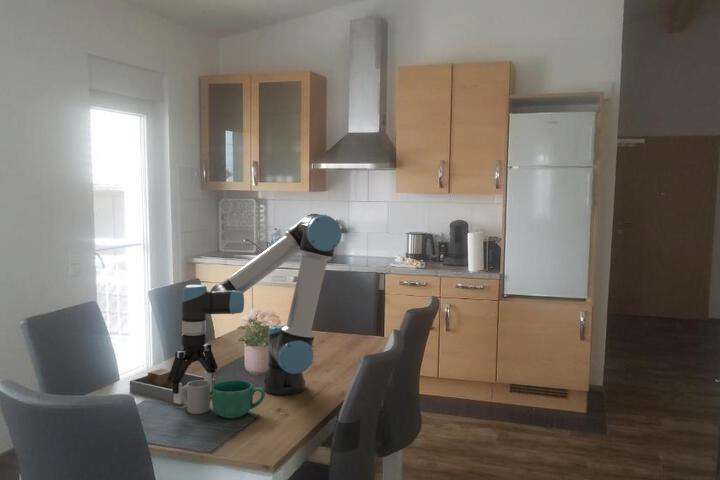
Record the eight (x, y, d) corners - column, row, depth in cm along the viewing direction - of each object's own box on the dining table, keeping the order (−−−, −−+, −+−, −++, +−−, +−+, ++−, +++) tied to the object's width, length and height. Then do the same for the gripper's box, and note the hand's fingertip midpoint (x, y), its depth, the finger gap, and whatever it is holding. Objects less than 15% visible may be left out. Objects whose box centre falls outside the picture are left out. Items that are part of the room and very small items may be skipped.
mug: (207, 421, 192) (207, 391, 192) (217, 407, 205) (217, 379, 204) (260, 422, 192) (260, 392, 191) (267, 408, 204) (267, 380, 204)
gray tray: (215, 391, 221) (215, 379, 221) (180, 405, 206) (179, 392, 206) (166, 380, 232) (166, 369, 232) (129, 393, 218) (129, 380, 217)
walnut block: (173, 387, 223) (172, 370, 223) (160, 391, 218) (160, 375, 218) (161, 384, 226) (160, 368, 226) (148, 388, 221) (147, 372, 220)
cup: (202, 415, 197) (202, 388, 197) (175, 412, 200) (174, 385, 199) (213, 407, 204) (213, 381, 204) (186, 404, 207) (186, 378, 206)
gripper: (211, 324, 213) (211, 385, 214) (155, 338, 191) (155, 405, 193) (228, 327, 209) (227, 389, 211) (173, 341, 188) (172, 410, 189)
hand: (193, 397), depth 202 cm, fingers open, 13 cm apart
